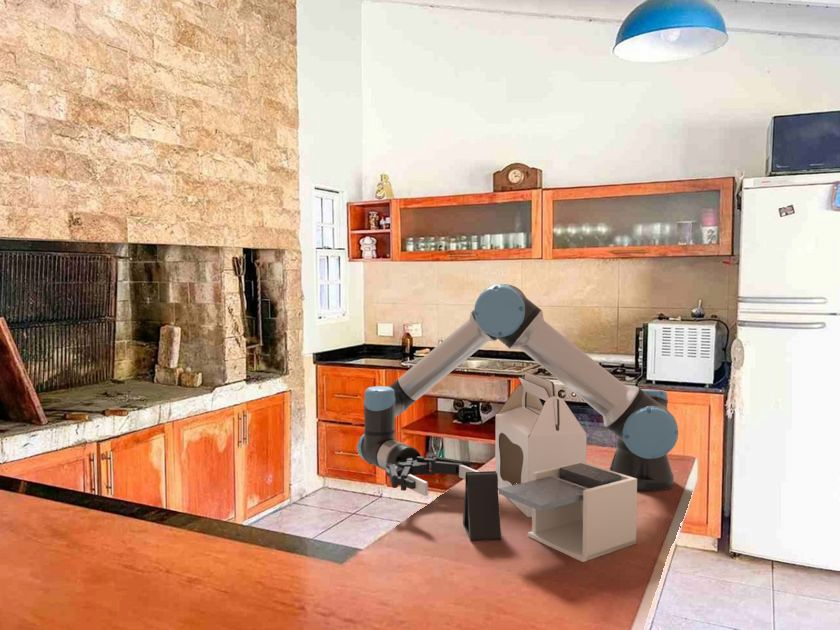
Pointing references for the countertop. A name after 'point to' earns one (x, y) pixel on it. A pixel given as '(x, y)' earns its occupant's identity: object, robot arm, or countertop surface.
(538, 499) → the trapdoor
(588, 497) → the frame
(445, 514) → the countertop surface
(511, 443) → the gable box
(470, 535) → the phone stand
